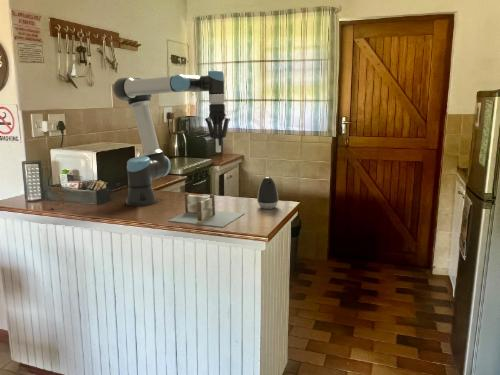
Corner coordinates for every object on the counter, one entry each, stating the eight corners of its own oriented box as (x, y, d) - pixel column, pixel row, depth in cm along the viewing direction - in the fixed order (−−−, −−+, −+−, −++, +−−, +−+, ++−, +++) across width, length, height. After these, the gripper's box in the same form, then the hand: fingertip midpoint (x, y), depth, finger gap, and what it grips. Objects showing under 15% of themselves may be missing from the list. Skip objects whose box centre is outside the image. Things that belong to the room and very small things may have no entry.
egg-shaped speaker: (261, 211, 202) (260, 179, 199) (254, 206, 212) (254, 175, 208) (281, 209, 204) (281, 178, 201) (274, 204, 214) (274, 174, 211)
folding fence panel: (209, 214, 196) (208, 197, 194) (212, 214, 195) (212, 197, 193) (196, 220, 186) (196, 202, 185) (200, 220, 186) (199, 202, 184)
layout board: (168, 221, 188) (167, 220, 188) (193, 209, 208) (193, 208, 208) (222, 227, 178) (222, 226, 178) (244, 214, 197) (244, 213, 197)
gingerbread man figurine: (66, 205, 221) (63, 182, 219) (71, 206, 219) (68, 183, 217) (50, 209, 214) (47, 185, 211) (55, 210, 212) (52, 186, 209)
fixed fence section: (184, 212, 201) (183, 193, 199) (187, 210, 204) (186, 192, 202) (213, 215, 195) (212, 195, 193) (216, 213, 198) (215, 194, 196)
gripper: (232, 103, 209) (233, 151, 213) (208, 103, 214) (210, 150, 219) (225, 103, 202) (226, 153, 207) (201, 103, 207) (203, 152, 212)
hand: (218, 152), depth 213 cm, fingers closed
